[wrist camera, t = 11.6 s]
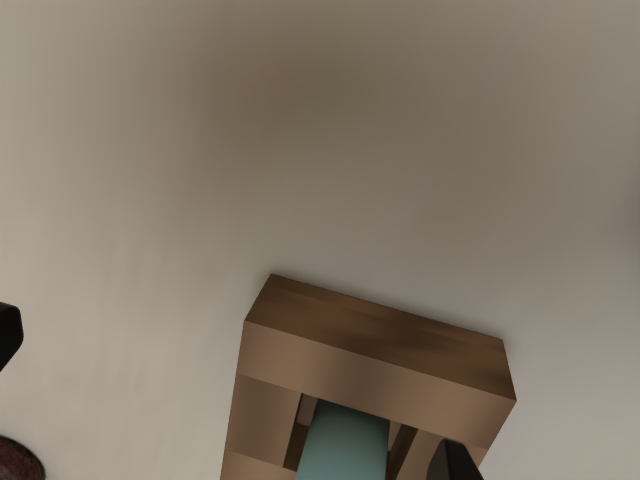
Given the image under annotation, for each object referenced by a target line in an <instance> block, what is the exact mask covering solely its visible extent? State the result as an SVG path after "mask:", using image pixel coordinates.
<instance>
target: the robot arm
mask: <svg viewBox="0 0 640 480" xmlns="http://www.w3.org/2000/svg"><path fill="white" fill-rule="evenodd" d="M23 338H24V334H23V327H22V320H21V314H20V310H19V309H18V308H17V307H16V306H13V305H10V304H7V303H3V302H0V372H1V371H2V369H3V368H4V367H5V366H6V364H7V363H8V362H9V361H10V359H11V358H12V357H13V356H14V354H15V353H16V352H17V350H18V349H19V348H20V346H21V344H22V342H23ZM426 480H484V479H483V477H482V475H481V473H480V472H479V470H478V468H477V466H476V464H475V462H474V460H473V459H472V457H471V455H470V453H469V451H468V449H467V448H466V446H465V445H464V444H463V443H461V442H458V441H454V440H451V439H448V438H443V439H442V440H441V441H440V443H439V445H438V447H437V449H436V451H435V453H434V455H433V457H432V459H431V461H430V463H429V466H428V470H427V475H426Z"/></svg>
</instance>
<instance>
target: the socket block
mask: <svg viewBox="0 0 640 480" xmlns="http://www.w3.org/2000/svg"><path fill="white" fill-rule="evenodd" d="M318 398H320V399H323V400H327V401H330V402H333V403H336V404H340V405H343V406H346V407H349V408H353V409H356V410H359V411H363V412H366V413H369V414H372V415H376V416H379V417H382V418H385V419H389V420H390V430H389V441H388V451H387V462H386V473H385V480H426V475H427V470H428V466H429V463H430V461H431V459H432V457H433V455H434V453H435V451H436V449H437V447H438V445H439V443H440V441H441V440H442V439H443V438H448V439H451V440H454V441H458V442H461V443H463V444H464V445H465V446H466V448H467V449H468V451H469V453H470V455H471V457H472V459H473V460H474V462H475V464H476V466H477V468H478V467H479V465H480V464H481V462H482V460H483V459H484V457H485V455H486V453H487V452H488V450H489V448H490V446H491V445H492V443H493V441H494V440H495V438H496V436H497V434H498V433H499V431H500V429H501V427H502V426H503V424H504V422H505V420H506V419H507V417H508V415H509V414H510V412H511V410H512V408H513V407H514V405H515V403H516V401H517V400H516V395H515V391H514V387H513V383H512V378H511V374H510V370H509V366H508V361H507V357H506V353H505V349H504V344H503V340H500V339H497V338H493V337H489V336H486V335H482V334H479V333H475V332H472V331H468V330H465V329H461V328H458V327H454V326H451V325H447V324H444V323H440V322H437V321H433V320H430V319H426V318H423V317H419V316H416V315H412V314H409V313H405V312H402V311H398V310H395V309H391V308H388V307H384V306H381V305H377V304H374V303H370V302H367V301H363V300H360V299H356V298H353V297H349V296H346V295H342V294H339V293H335V292H332V291H328V290H325V289H321V288H318V287H314V286H311V285H307V284H304V283H300V282H297V281H293V280H290V279H286V278H283V277H279V276H276V275H272V274H270V276H269V278H268V280H267V281H266V283H265V285H264V287H263V288H262V290H261V292H260V294H259V295H258V297H257V299H256V301H255V302H254V304H253V306H252V308H251V309H250V311H249V313H248V314H247V316H246V318H245V320H244V325H243V331H242V338H241V344H240V351H239V358H238V364H237V371H236V377H235V384H234V391H233V397H232V404H231V410H230V417H229V424H228V430H227V437H226V443H225V450H224V457H223V463H222V470H221V476H220V480H295V477H296V473H297V470H298V466H299V463H300V459H301V456H302V452H303V449H304V445H305V442H306V438H307V435H308V431H309V428H310V424H311V421H312V417H313V413H314V410H315V406H316V403H317V399H318Z"/></svg>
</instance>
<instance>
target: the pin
mask: <svg viewBox="0 0 640 480" xmlns="http://www.w3.org/2000/svg"><path fill="white" fill-rule="evenodd" d="M389 430H390V420H389V419H385V418H382V417H379V416H376V415H372V414H369V413H366V412H363V411H359V410H356V409H353V408H349V407H346V406H343V405H340V404H336V403H333V402H330V401H327V400H323V399H320V398H318V399H317V403H316V406H315V410H314V413H313V417H312V421H311V424H310V428H309V431H308V435H307V438H306V442H305V445H304V449H303V452H302V456H301V459H300V463H299V466H298V470H297V473H296V477H295V480H385V473H386V462H387V451H388V441H389Z"/></svg>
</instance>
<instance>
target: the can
mask: <svg viewBox="0 0 640 480" xmlns="http://www.w3.org/2000/svg"><path fill="white" fill-rule="evenodd" d="M42 478H43V472H42V468H41V466H40V464H39V462H38V461H37V460H36V458H35V457H34V456H33V455H32V454H31V453H30V452H28V451H27V450H26V449H25V448H23V447H22V446H20V445H18V444H16V443H15V442H13V441H10V440H7V439H4V438H0V480H42Z"/></svg>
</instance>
